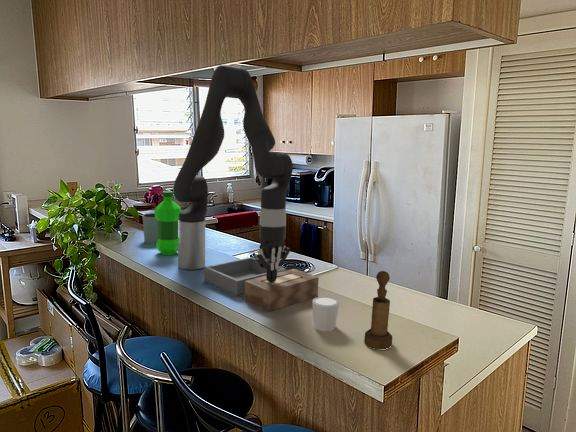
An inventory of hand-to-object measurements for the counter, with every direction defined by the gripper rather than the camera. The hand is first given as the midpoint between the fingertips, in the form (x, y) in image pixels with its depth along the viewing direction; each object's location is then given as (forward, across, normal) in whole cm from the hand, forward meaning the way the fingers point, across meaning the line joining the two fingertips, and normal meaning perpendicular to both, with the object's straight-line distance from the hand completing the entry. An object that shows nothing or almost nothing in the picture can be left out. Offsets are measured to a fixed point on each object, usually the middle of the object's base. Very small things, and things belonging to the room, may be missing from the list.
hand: (271, 281), depth 129 cm
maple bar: (+3, -4, 0) cm, 5 cm away
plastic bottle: (+6, -3, -66) cm, 66 cm away
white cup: (+7, +1, +22) cm, 23 cm away
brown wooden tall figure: (+7, -2, +36) cm, 37 cm away
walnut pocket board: (+6, -4, 0) cm, 8 cm away
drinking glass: (+6, -7, -87) cm, 87 cm away
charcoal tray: (+6, -4, -18) cm, 20 cm away
